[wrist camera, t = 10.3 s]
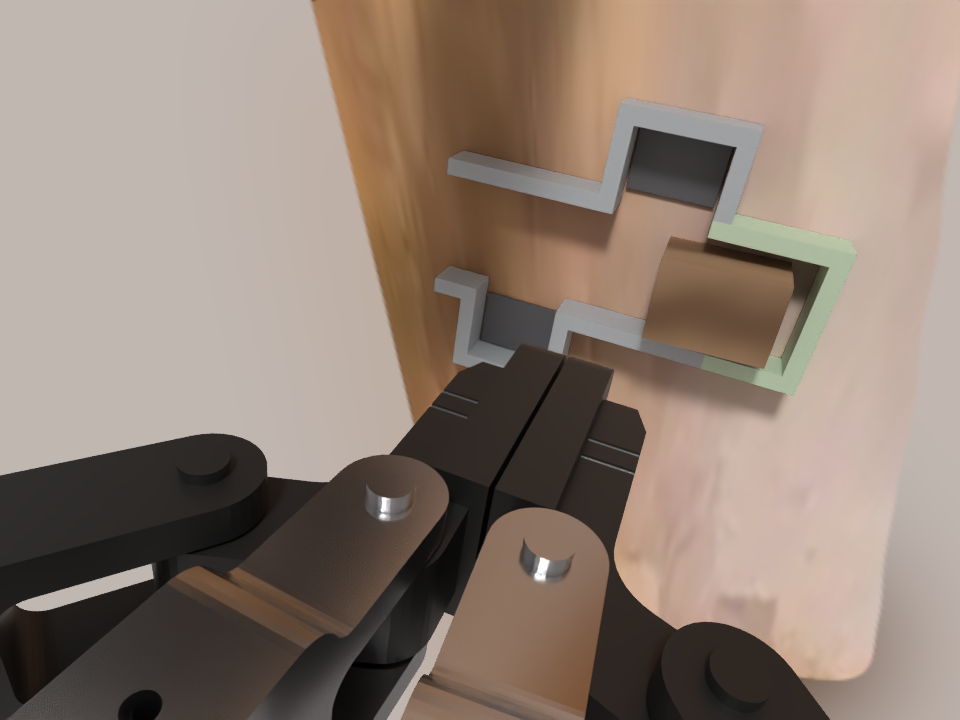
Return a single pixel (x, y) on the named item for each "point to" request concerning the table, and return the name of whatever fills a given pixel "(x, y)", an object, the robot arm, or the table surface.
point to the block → (719, 301)
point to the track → (655, 169)
